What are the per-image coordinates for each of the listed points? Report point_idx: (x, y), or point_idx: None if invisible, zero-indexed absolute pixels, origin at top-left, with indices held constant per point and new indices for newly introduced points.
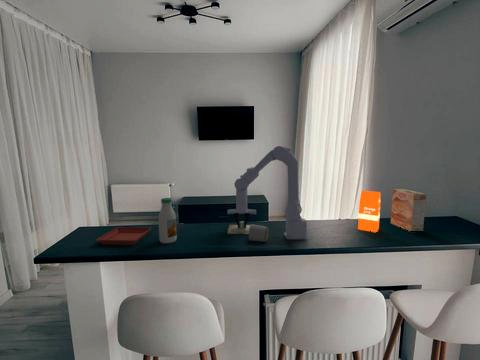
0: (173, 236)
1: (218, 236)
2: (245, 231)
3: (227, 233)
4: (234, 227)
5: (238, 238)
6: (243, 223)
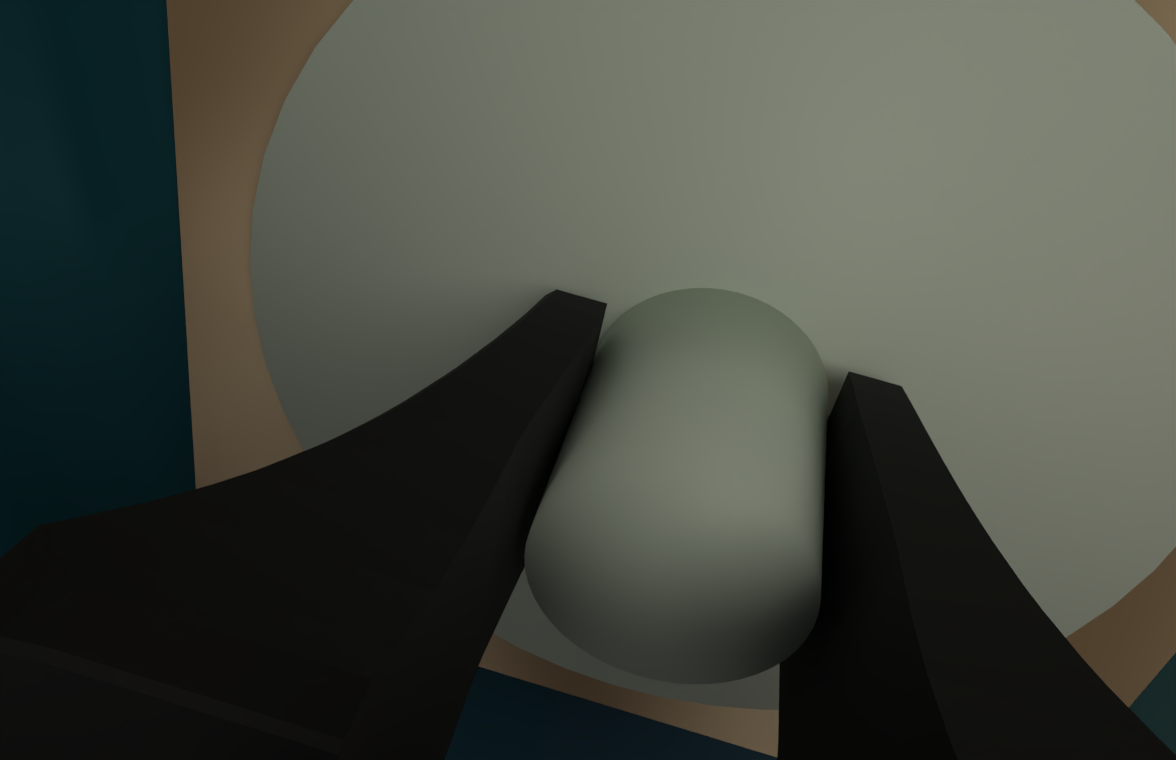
0: None
1: (19, 517)
2: (740, 693)
3: None
4: (401, 235)
5: (506, 750)
6: (723, 653)
